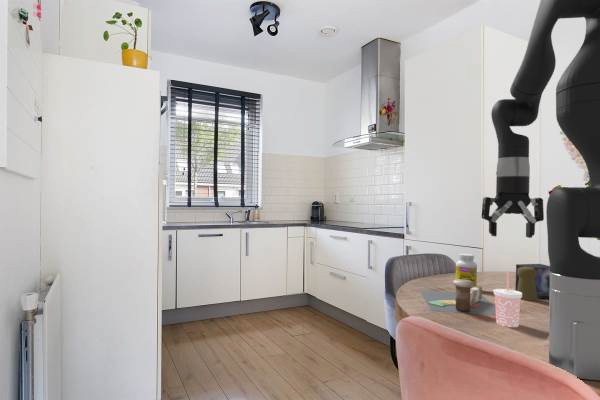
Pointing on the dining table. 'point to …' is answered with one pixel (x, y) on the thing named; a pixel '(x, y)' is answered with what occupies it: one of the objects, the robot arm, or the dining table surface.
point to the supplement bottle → (467, 268)
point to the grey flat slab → (448, 303)
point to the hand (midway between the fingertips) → (511, 236)
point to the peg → (466, 294)
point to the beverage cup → (507, 306)
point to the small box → (538, 279)
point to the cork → (527, 283)
